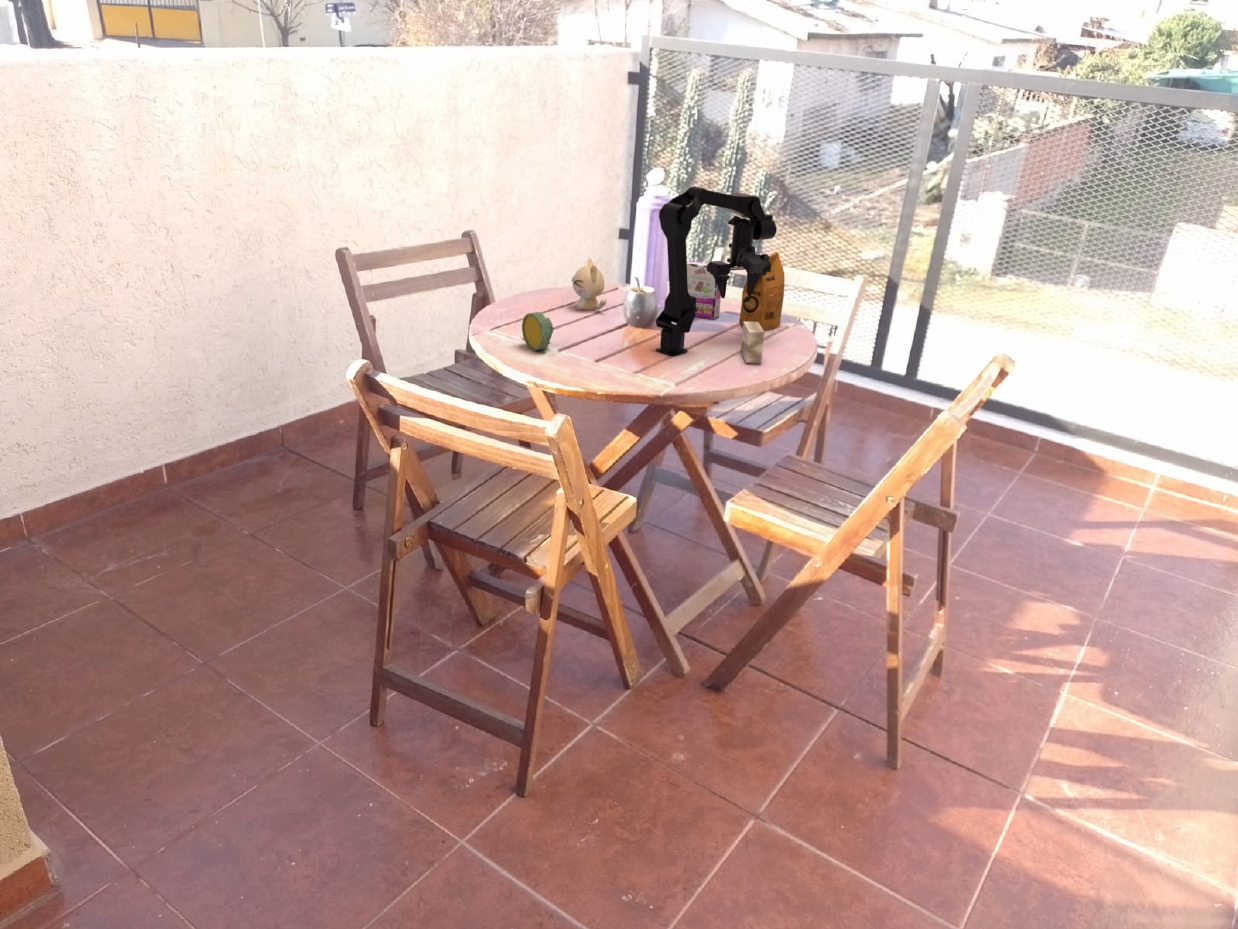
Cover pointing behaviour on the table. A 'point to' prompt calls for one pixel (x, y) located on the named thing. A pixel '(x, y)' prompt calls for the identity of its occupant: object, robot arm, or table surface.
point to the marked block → (752, 343)
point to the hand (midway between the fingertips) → (736, 296)
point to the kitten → (589, 287)
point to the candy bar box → (703, 290)
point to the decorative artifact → (537, 330)
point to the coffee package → (765, 297)
